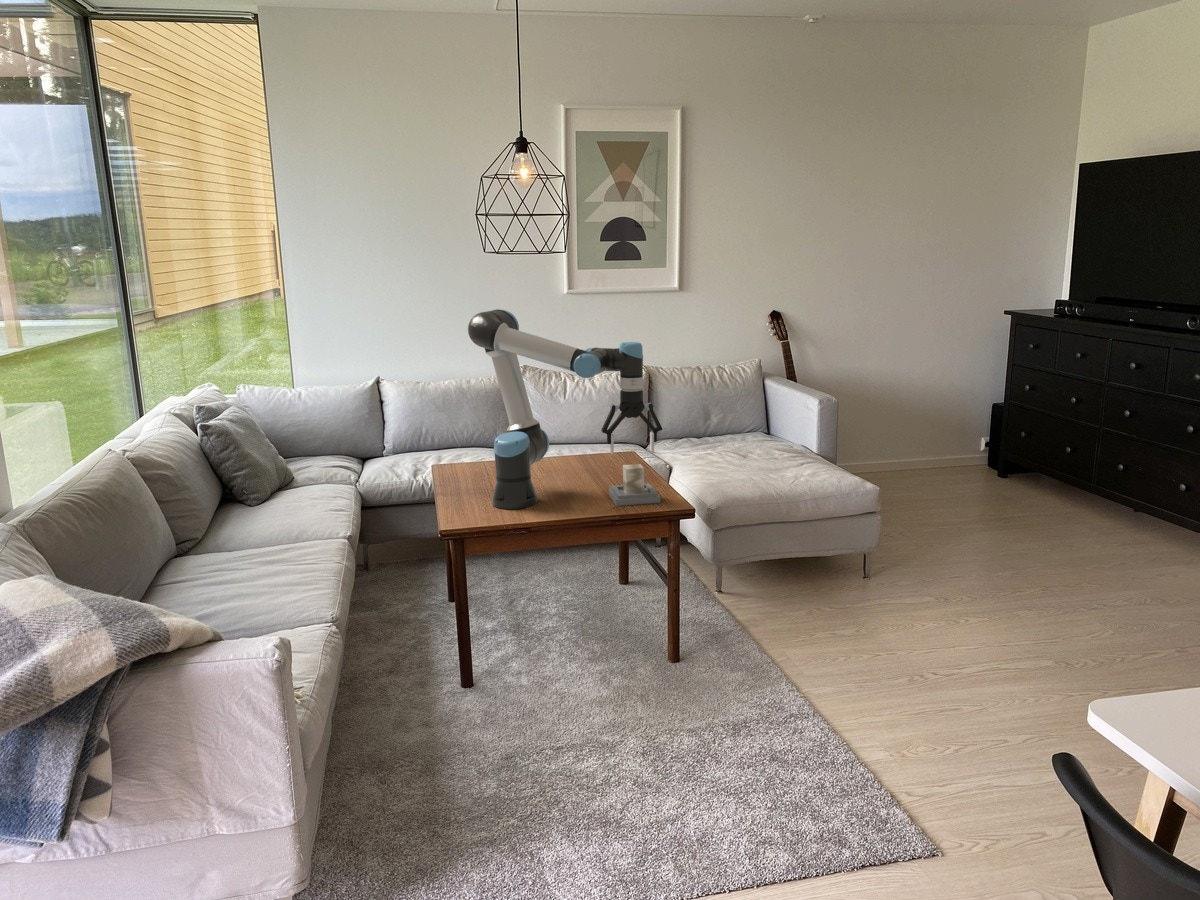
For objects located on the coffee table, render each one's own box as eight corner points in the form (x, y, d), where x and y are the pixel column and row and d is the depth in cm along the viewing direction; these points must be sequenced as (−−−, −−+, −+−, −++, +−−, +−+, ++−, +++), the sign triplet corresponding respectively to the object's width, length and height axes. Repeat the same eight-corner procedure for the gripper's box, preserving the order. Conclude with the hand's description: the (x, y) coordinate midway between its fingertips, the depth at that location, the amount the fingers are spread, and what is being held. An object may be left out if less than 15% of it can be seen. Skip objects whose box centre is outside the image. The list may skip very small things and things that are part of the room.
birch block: (626, 495, 292) (626, 469, 290) (623, 490, 298) (622, 465, 296) (644, 494, 293) (643, 468, 291) (640, 489, 299) (640, 463, 297)
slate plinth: (615, 505, 288) (615, 497, 287) (608, 493, 302) (608, 485, 302) (660, 502, 290) (660, 493, 289) (651, 490, 304) (651, 482, 304)
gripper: (595, 392, 283) (596, 456, 287) (671, 389, 286) (671, 453, 291) (592, 389, 290) (593, 451, 295) (666, 386, 293) (666, 448, 298)
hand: (632, 452), depth 293 cm, fingers open, 13 cm apart
